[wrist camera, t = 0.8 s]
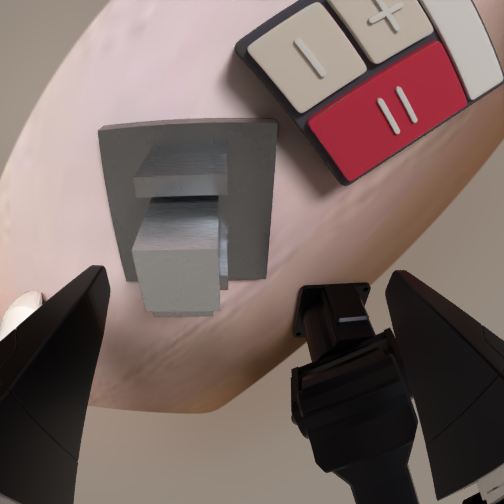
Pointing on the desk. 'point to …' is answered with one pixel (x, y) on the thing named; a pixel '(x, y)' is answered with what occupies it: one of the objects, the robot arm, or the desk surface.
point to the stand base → (195, 182)
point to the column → (179, 256)
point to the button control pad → (372, 72)
